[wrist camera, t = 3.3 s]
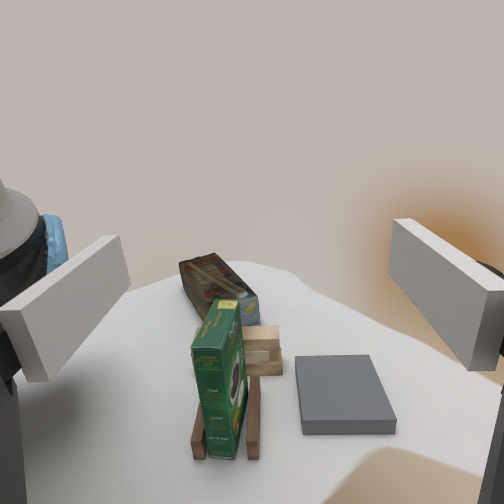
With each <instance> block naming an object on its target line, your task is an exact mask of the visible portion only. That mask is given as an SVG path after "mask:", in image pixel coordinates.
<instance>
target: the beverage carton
mask: <svg viewBox="0 0 504 504" xmlns="http://www.w3.org/2000/svg"><path fill="white" fill-rule="evenodd" d="M179 269H180V274H181V279H182V283H183V287H184V289H185V291H186V293H187V295H188V297H189V298H190V300H191V301H192V303H193V305H194V307H195V308H196V310H197V311H198V313H199V315H200V316H201V318H202V320H203V321H204V320H205V318H206V316H207V314H208V312H209V310H210V308H211V306H212V304H213V302H214V300H215V299H238V300H239V304H240V315H241V324H242V327H244V326H260V313H259V303H258V296H257V295H256V294H255V293H254V292H253V291H252V289H251V288H249V287H248V285H247V284H246V283H245V282H244V281H243V280H242V279H241V278H240V277H239V276H238V275H237V274H236V273H235V272H234V271H233V270H232V269H231V268H230V267H229V266H228V265H227V264H226V263H225V262H224V261H223V260H222V259H221V258H220V257H219V256H218V255H217V254H216V253H212V254H209V255H206V256H202V257H196V258H194V259H191V260H185V261H182V262H179Z"/></svg>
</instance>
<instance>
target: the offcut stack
mask: <svg viewBox="0 0 504 504" xmlns="http://www.w3.org/2000/svg"><path fill="white" fill-rule="evenodd" d="M199 329H200V328H197V331H196V334H195V337H196V335H197V333H198V331H199ZM242 334H243V344H244V353H245V362H246V373H247V376H250V375H282V357H281V347H280V344H279V325H278V326H244V327H242ZM195 337H194V339H195ZM193 341H194V340H193ZM191 357H192V353H191ZM192 363H193V358H192ZM193 365H194V364H193ZM194 371H195V369H194ZM195 377H196V375H195Z"/></svg>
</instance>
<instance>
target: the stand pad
mask: <svg viewBox="0 0 504 504" xmlns="http://www.w3.org/2000/svg"><path fill="white" fill-rule="evenodd" d="M295 370H296V379H297V387H298V396H299V404H300V413H301V422H302V430H303V434H395V428H396V422H397V419H396V416H395V414H394V412H393V409H392V407H391V405H390V402H389V400H388V398H387V396H386V393H385V391H384V389H383V386H382V384H381V382H380V379H379V377H378V375H377V373H376V370H375V368H374V366H373V363H372V361H371V359H370V356H369V355H333V356H295Z"/></svg>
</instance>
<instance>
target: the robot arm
mask: <svg viewBox="0 0 504 504" xmlns="http://www.w3.org/2000/svg"><path fill="white" fill-rule="evenodd" d="M388 273H389V275H390V276H391V277H392V278H393V279H394V281H395V282H396V283H397V284H398V286H399V287H400V288H401V289H402V291H403V292H404V293H405V294H406V295H407V297H408V298H409V299H410V300H411V301H412V303H413V304H414V305H415V306H416V308H417V309H418V310H419V311H420V313H422V315H423V316H424V318H425V319H426V320H427V321H428V322H429V324H430V325H431V326H432V327H433V329H434V330H435V331H436V332H437V333H438V334H439V336H440V337H441V338H442V340H443V341H444V342H445V343H446V345H447V346H448V347H449V348H450V349H451V351H452V352H453V353H454V354H455V355H456V357H457V358H458V359H459V360H460V361H461V363H462V364H463V365H464V367H465V368H466V369H467V370H468V371H495V369H496V366H497V362H498V359H499V356H500V354H501V355H502V356H503V357H504V275H503V273H502V272H500V271H498V270H497V269H495V268H493V267H492V266H490V265H487V264H484V263H482V262H479V261H474V260H473V259H471V258H470V257H468V256H467V255H465V254H464V253H462V252H461V251H459V250H457V249H456V248H455V247H453V246H452V245H450V244H449V243H447V242H446V241H444V240H443V239H441V238H440V237H438V236H437V235H435V234H433V233H432V232H431V231H429V230H428V229H426V228H424V227H423V226H421V225H420V224H418V223H417V222H415V221H414V220H412V219H410V218H409V219H394V222H393V231H392V240H391V250H390V259H389V270H388ZM130 285H131V283H130V278H129V275H128V270H127V266H126V262H125V258H124V254H123V250H122V247H121V242H120V238H119V235H105V236H102V237H101V238H99V239H98V240H97V241H95V242H94V243H92V244H91V245H89V246H88V247H86V248H85V249H84V250H82V251H81V252H79V253H78V254H76V255H75V256H74V257H72V258H71V259H68V252H67V246H66V241H65V236H64V230H63V226H62V222H61V219H60V218H59V217H58V216H55V215H51V216H49V215H47V214H44V215H42V216H39V213H38V211H37V208H36V207H35V205H34V203H33V202H32V201H31V199H29V198H28V197H27V196H25V195H24V194H22V193H20V192H17V191H15V190H12V189H9V188H6V187H4V186H3V184H2V182H1V180H0V504H27V497H26V485H25V474H24V463H23V451H22V440H21V429H20V417H19V406H18V395H17V385H16V383H15V381H14V379H13V376H14V375H15V374H16V373H17V372H18V371H19V370H20V369H21V368H22V371H23V373H24V375H25V377H26V379H27V382H50V381H51V380H52V379H53V378H54V376H55V375H56V374H57V373H58V372H59V370H60V369H61V368H62V367H63V366H64V364H65V363H66V362H67V361H68V360H69V358H70V357H71V356H72V355H73V354H74V352H75V351H76V350H77V349H78V348H79V346H80V345H81V344H82V343H83V342H84V340H85V339H86V338H87V337H88V336H89V334H90V333H91V332H92V331H93V330H94V328H95V327H96V326H97V325H98V324H99V322H100V321H101V320H102V319H103V317H104V316H105V315H106V314H107V313H108V311H109V310H110V309H111V308H112V307H113V305H114V304H115V303H116V302H117V301H118V299H119V298H120V297H121V296H122V295H123V293H124V292H125V291H126V290H127V289H128V287H129V286H130ZM501 394H502V398H501V402H500V407H499V411H498V415H497V420H496V424H495V429H494V433H493V437H492V442H491V446H490V451H489V455H488V459H487V464H486V468H485V473H484V477H483V481H482V486H481V490H480V495H479V499H478V504H504V385H503V388H502V391H501Z"/></svg>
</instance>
